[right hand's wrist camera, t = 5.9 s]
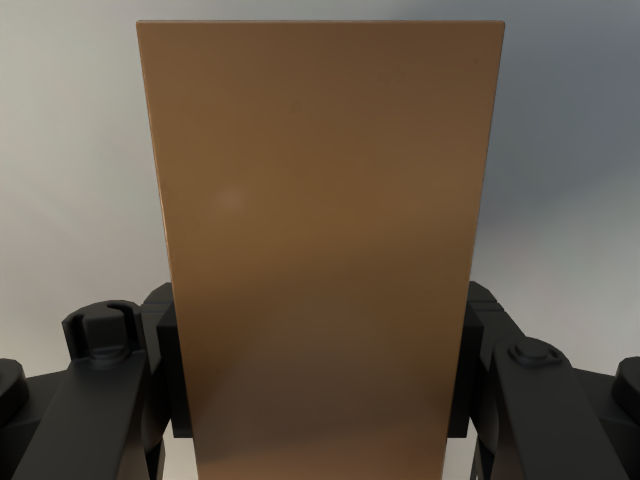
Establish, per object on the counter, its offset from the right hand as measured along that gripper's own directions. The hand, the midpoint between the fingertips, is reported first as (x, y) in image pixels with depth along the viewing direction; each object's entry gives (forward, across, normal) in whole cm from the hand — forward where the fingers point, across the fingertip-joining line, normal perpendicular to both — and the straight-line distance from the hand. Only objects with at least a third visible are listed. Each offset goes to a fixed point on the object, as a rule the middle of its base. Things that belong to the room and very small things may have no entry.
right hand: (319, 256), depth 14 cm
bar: (+1, 0, -26) cm, 26 cm away
